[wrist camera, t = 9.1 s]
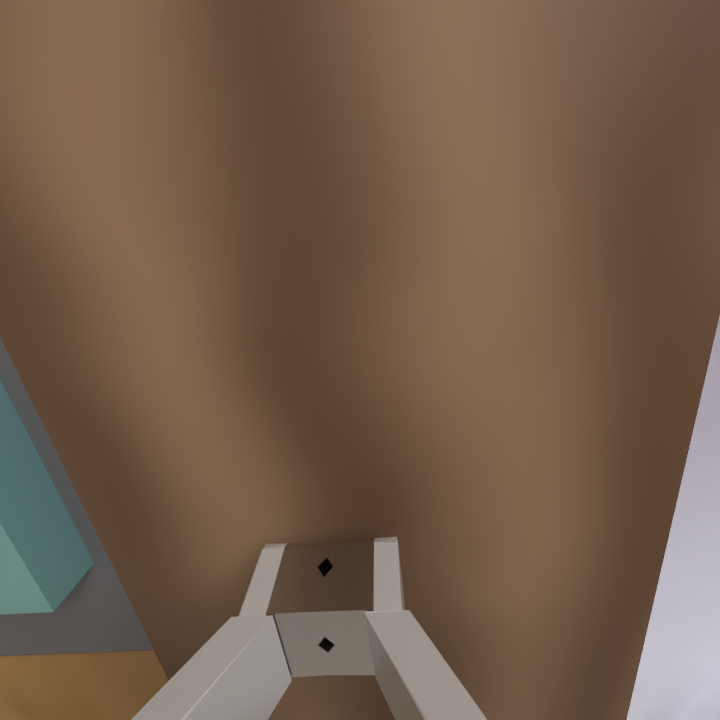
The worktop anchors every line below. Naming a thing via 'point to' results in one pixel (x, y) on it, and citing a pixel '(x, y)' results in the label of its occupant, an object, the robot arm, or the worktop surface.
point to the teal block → (33, 526)
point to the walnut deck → (373, 308)
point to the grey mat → (95, 589)
